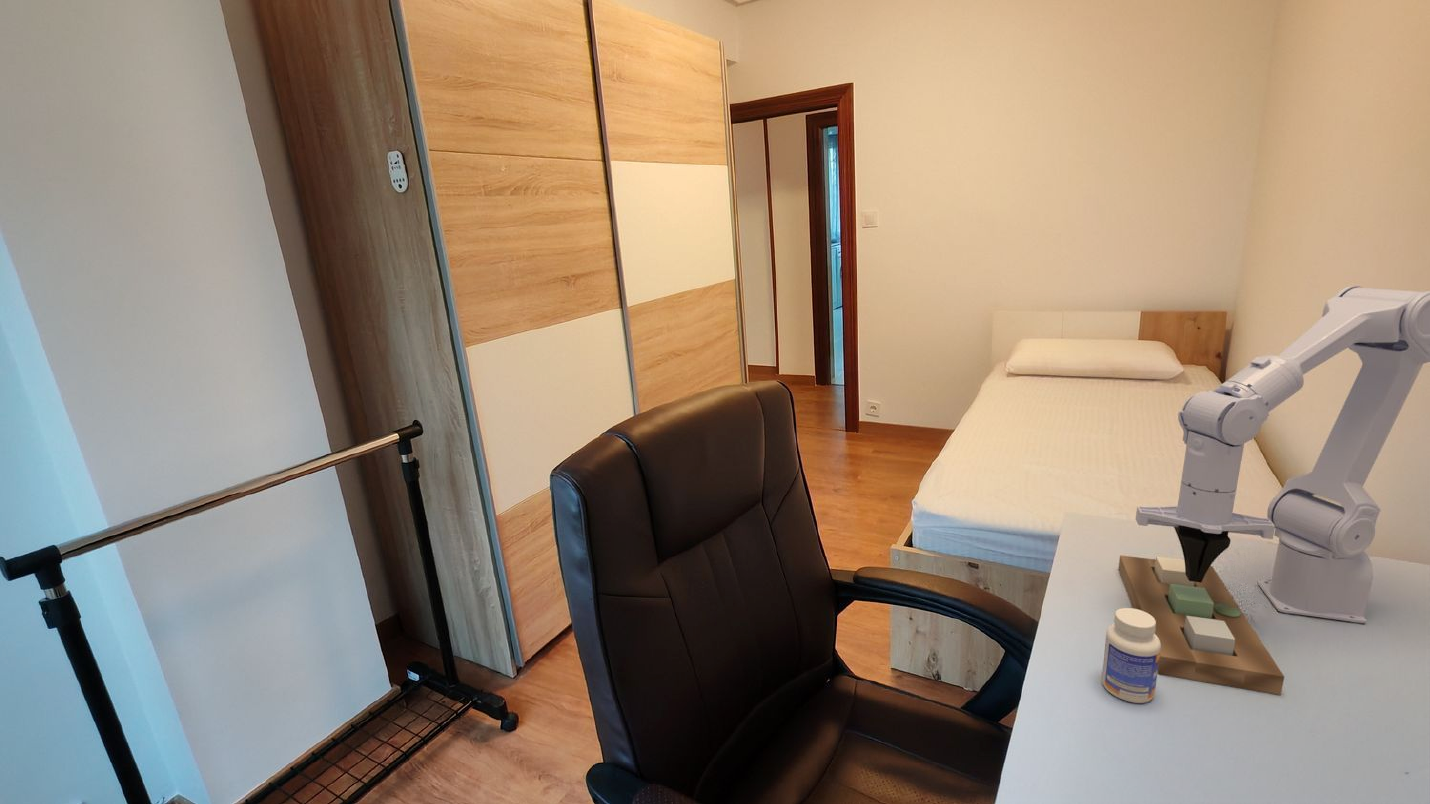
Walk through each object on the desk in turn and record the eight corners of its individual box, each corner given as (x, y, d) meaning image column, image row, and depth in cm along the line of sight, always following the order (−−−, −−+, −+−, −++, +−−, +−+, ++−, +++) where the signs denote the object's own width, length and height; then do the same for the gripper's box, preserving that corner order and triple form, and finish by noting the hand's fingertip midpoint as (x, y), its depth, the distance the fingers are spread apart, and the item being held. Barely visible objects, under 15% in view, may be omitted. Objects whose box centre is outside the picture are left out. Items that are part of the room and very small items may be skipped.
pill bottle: (1162, 707, 74) (1173, 633, 71) (1110, 702, 75) (1119, 629, 72) (1142, 675, 79) (1152, 605, 76) (1093, 671, 80) (1102, 602, 78)
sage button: (1201, 607, 89) (1204, 588, 88) (1210, 623, 86) (1214, 603, 85) (1167, 602, 91) (1169, 583, 90) (1174, 618, 87) (1177, 599, 86)
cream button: (1185, 578, 96) (1188, 560, 95) (1193, 592, 93) (1196, 573, 92) (1153, 574, 98) (1156, 556, 97) (1160, 587, 94) (1162, 569, 93)
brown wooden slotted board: (1209, 581, 98) (1212, 564, 97) (1280, 695, 75) (1284, 674, 74) (1118, 569, 102) (1120, 553, 102) (1158, 674, 79) (1161, 654, 78)
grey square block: (1220, 641, 82) (1224, 621, 81) (1231, 661, 78) (1235, 639, 78) (1183, 636, 83) (1186, 615, 83) (1191, 654, 80) (1195, 633, 79)
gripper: (1149, 490, 82) (1136, 585, 86) (1292, 502, 77) (1272, 603, 80) (1137, 470, 89) (1126, 559, 92) (1268, 480, 83) (1251, 575, 87)
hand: (1193, 578), depth 87 cm, fingers closed
